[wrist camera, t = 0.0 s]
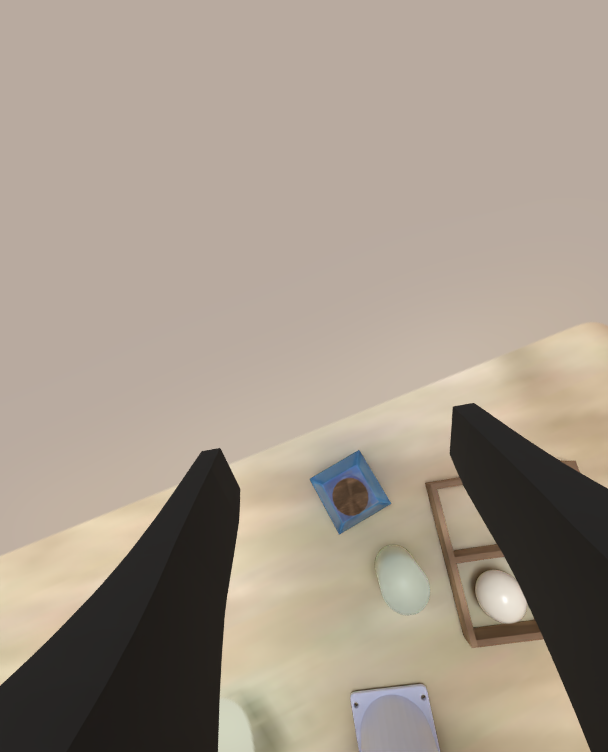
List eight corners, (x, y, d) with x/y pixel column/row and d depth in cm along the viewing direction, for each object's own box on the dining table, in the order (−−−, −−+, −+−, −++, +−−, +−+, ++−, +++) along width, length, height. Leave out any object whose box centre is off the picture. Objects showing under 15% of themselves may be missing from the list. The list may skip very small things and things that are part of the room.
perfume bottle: (357, 451, 41) (361, 447, 30) (384, 497, 40) (400, 511, 28) (314, 476, 41) (302, 482, 30) (340, 523, 39) (338, 548, 28)
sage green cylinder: (420, 586, 37) (435, 611, 31) (379, 592, 37) (386, 618, 31) (410, 542, 38) (423, 557, 32) (370, 547, 38) (375, 564, 32)
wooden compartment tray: (618, 616, 34) (638, 627, 32) (463, 635, 35) (472, 647, 33) (561, 460, 38) (575, 460, 36) (425, 482, 39) (430, 484, 37)
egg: (519, 608, 35) (544, 629, 31) (475, 614, 35) (494, 635, 31) (505, 561, 36) (527, 575, 32) (463, 567, 37) (479, 581, 32)
